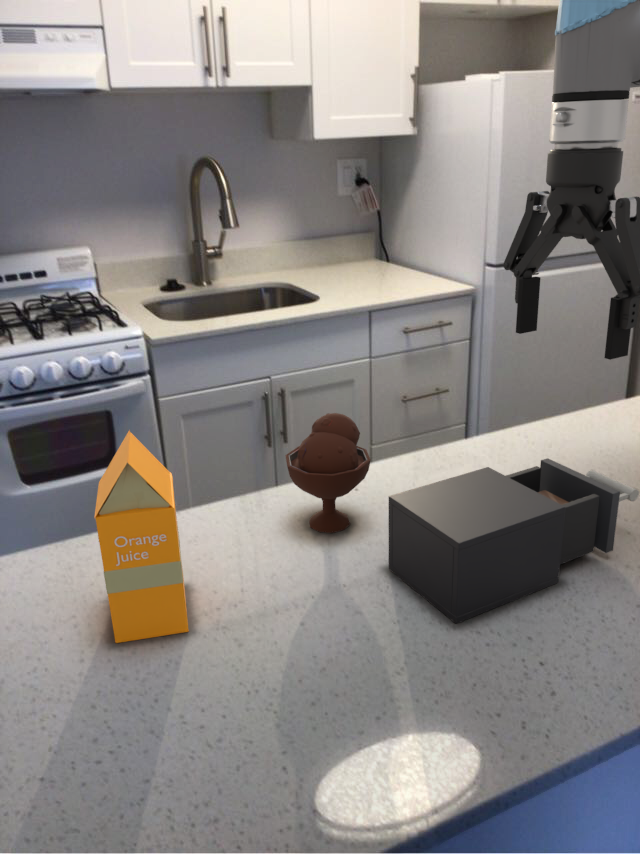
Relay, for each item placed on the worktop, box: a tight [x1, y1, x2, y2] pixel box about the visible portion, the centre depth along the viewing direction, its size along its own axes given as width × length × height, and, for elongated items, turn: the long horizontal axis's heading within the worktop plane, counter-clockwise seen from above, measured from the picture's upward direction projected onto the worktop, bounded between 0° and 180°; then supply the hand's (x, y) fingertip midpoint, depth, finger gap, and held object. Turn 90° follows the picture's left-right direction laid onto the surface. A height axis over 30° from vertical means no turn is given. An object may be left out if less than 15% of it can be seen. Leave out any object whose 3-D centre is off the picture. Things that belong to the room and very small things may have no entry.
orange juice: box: [93, 429, 190, 644], centre depth 79 cm, size 8×9×20 cm
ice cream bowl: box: [284, 412, 372, 534], centre depth 98 cm, size 11×11×15 cm
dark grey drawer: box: [505, 457, 640, 565], centre depth 91 cm, size 20×11×8 cm, turn 119°
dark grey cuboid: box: [388, 466, 565, 624], centre depth 86 cm, size 15×13×10 cm
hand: (568, 343), depth 87 cm, fingers open, 13 cm apart
